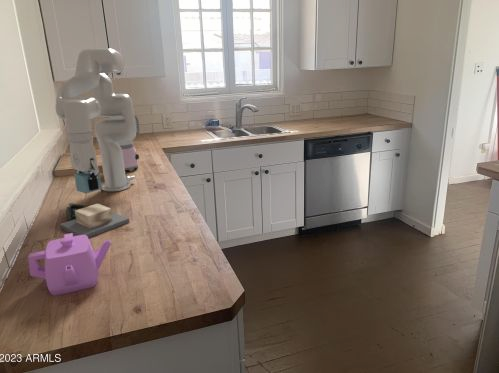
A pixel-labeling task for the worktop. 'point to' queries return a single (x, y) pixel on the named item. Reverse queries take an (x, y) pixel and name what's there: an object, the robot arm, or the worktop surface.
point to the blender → (128, 148)
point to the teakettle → (68, 264)
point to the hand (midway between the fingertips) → (89, 187)
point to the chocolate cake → (73, 210)
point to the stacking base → (96, 229)
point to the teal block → (85, 182)
